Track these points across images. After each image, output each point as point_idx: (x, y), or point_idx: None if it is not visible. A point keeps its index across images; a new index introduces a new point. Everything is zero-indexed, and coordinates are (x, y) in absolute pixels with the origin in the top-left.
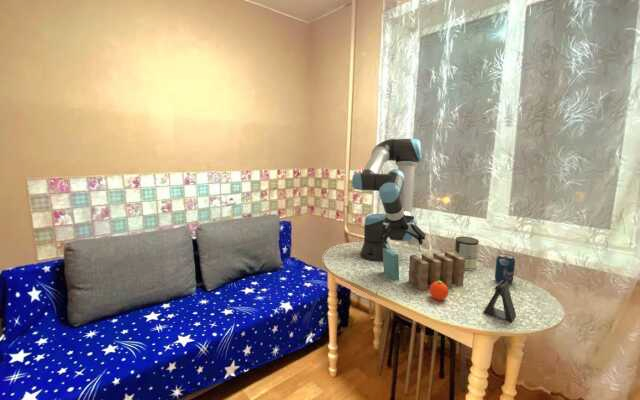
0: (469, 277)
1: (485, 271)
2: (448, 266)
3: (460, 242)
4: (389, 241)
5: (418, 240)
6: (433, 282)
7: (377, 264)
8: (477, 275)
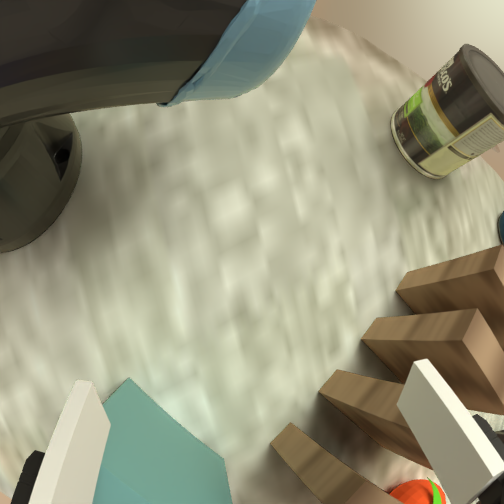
0: (458, 246)
1: (469, 169)
2: (488, 410)
3: (497, 113)
4: (76, 487)
5: (474, 497)
6: (394, 451)
7: (43, 295)
8: (467, 214)
